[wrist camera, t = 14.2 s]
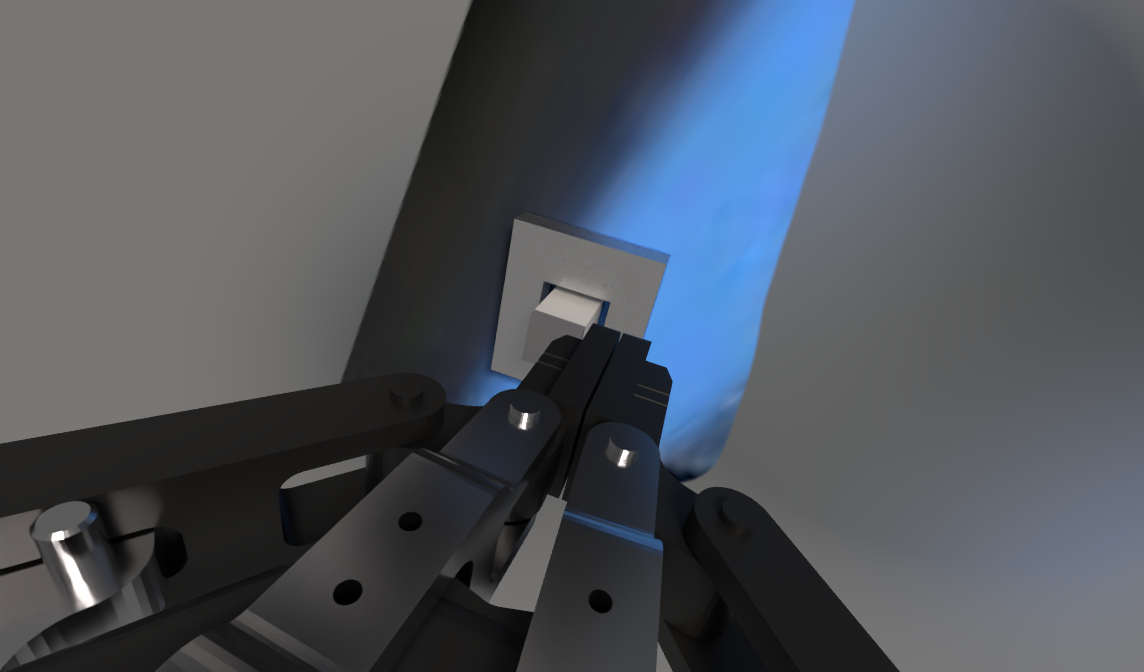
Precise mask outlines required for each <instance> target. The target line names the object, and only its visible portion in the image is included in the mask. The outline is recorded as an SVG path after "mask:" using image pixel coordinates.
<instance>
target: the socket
mask: <svg viewBox="0 0 1144 672" xmlns="http://www.w3.org/2000/svg"><path fill="white" fill-rule="evenodd" d="M669 257H670V255H669V254H665V253H662V252H659V251H655V250H652V249H648V248H645V247H642V246H638V245H635V244H632V243H628V242H625V241H622V240H618V239H615V238H611V237H608V236H605V235H601V234H598V233H595V232H591V231H588V230H585V229H581V228H578V227H574V226H571V225H568V224H564V223H561V222H558V221H554V220H551V219H548V218H544V217H541V216H538V215H534V214H531V213H527V212H526V213H524V214H522V215H520V216H518V217H517V218H515V219H514V225H513V232H512V238H511V244H510V251H509V257H508V264H507V270H506V276H505V283H504V289H503V296H502V302H501V308H500V315H499V321H498V328H497V334H496V340H495V347H494V353H493V360H492V366H491V370H494V371H497V372H500V373H503V374H505V375H508V376H511V377H514V378H517V379H519V380H522V381H523V379H524V378H525V377H526V375H527V374H528V373H529V371H530V370H531V369H532V367H533V366H534V365H535V364H533V363H530V362H527V361H524V360H522V356H523V351H524V346H525V340H526V335H527V330H528V325H529V320H530V315H531V313H532V312H533V311H534V310H535V309H536V308H537V307H538V305H539V304H540V303H541V302H542V301H543V300H544V299H545V298H546V297H547V296H548V295H549V291H550V286H551V284H555V285H558V286H561V287H564V288H567V289H570V290H573V291H577V292H580V293H583V294H586V295H589V296H592V297H595V298H598V299H602V300H605V301H608V302H610V306H609V310H608V313H607V317H606V321H605V324H604V326H605V327H608V328H611V329H614V330H617V331H620V332H621V336H620V339H621V337H622V334H623V333H626V334H629V335H632V336H635V337H639V338H642V339H643V338H644V334H645V331H646V328H647V325H648V322H649V319H650V316H651V313H652V310H653V307H654V304H655V300H656V297H657V294H658V291H659V288H660V285H661V282H662V279H663V276H664V273H665V270H666V266H667V263H668V260H669ZM619 341H620V340H619Z"/></svg>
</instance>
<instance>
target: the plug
mask: <svg viewBox="0 0 1144 672" xmlns="http://www.w3.org/2000/svg"><path fill="white" fill-rule="evenodd" d="M603 302H604V300H602V299H598V298H595V297H592V296H589V295H586V294H583V293H580V292H577V291H573V290H570V289H567V288H564V287H561V286H558V285H557V286H556V287H555V288H554V290H553V291H552V292H551V293H550V294H549V295H548V296H547V297H546V298H545V299H544V300H543V301H542V302H541V303H540V304H539V305H538V307H537V308H536V309H535V310H534V311H533V312H532V313H531V315H530V320H529V325H528V330H527V335H526V340H525V346H524V351H523V356H522V360H524V361H527V362H530V363H533V364H535V363H536V362H538V359H539V358H540V357H541V355H542V354H543V353H544V351H545V350H546V348H547V347H548V346H549V344H550V343H551V342H552V341H553V340H555V339H558V338H560V337H562V336H564V335H570V336H573V337H576V338H579V339H582V340H583V338H584V336H585V335H586V333H587V332H588V330H589V328H590V327H591V325H592V324H593V323H596V324H598V321H599V317H600V313H601V310H602V306H603Z"/></svg>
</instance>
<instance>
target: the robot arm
mask: <svg viewBox="0 0 1144 672" xmlns="http://www.w3.org/2000/svg"><path fill="white" fill-rule="evenodd" d="M620 336H621V332H620V331H617V330H614V329H611V328H608V327H605V326H602V325H599V324H596V323H593V324H592V325H591V327H590V328H589V330H588V332H587V333H586V335H585V336H584V338H583V340H582V339H579V338H576V337H573V336H570V335H564V336H562V337H560V338H558V339H555V340H553V341H552V342H551V343H550V344H549V346H548V347H547V348H546V350H545V351H544V353H543V354H542V355H541V357H540V358H539V359H538V362H536V363H535V365H534V366H533V367H532V369H531V370H530V371H529V373H528V374H527V375H526V377H525V378H524V379H523V381H522V382H521V383H520V385H519V386H518V387H517V389H510V390H505V391H502V392H500V393H498V394H496V395H495V396H494V397H492V398H491V399H490V401H489V402H488V403H487V404H486V405H485V406H466V405H458V404H450V403H445V400H446V394H445V390H444V388H443V387H442V386H441V385H440V384H439V383H438V382H437V381H435V380H434V379H432V378H430V377H427V376H424V375H420V374H415V373H397V374H391V375H385V376H379V377H374V378H368V379H362V380H357V381H351V382H346V383H340V384H334V385H329V386H323V387H318V388H312V389H306V390H301V391H296V392H289V393H284V394H279V395H273V396H267V397H261V398H256V399H251V400H244V401H239V402H233V403H227V404H222V405H216V406H210V407H205V408H199V409H194V410H188V411H182V412H177V413H171V414H165V415H160V416H154V417H149V418H143V419H138V420H132V421H127V422H121V423H115V424H109V425H103V426H99V427H93V428H87V429H81V430H75V431H70V432H64V433H58V434H53V435H47V436H42V437H36V438H31V439H25V440H19V441H13V442H8V443H2V444H0V672H656V664H657V647H658V642H659V644H660V646H661V649H662V651H663V653H664V655H665V657H666V659H667V661H668V663H669V665H670V667H671V669H672V671H673V672H900V671H899V670H898V669H897V668H896V667H895V665H894V664H893V663H892V662H891V661H890V659H889V658H888V657H887V656H886V654H885V653H884V652H883V651H882V650H881V648H880V647H879V646H878V645H877V644H876V643H875V641H874V640H873V639H872V638H871V636H870V635H869V634H868V633H867V632H866V631H865V629H864V628H863V627H862V626H861V624H860V623H859V622H858V621H857V620H856V618H855V617H854V616H853V615H852V614H851V612H850V611H849V610H848V609H847V608H846V606H845V605H844V604H843V603H842V602H841V600H840V599H839V598H838V597H837V596H836V594H835V593H834V592H833V591H832V589H831V588H830V587H829V586H828V585H827V583H826V582H825V581H824V580H823V579H822V577H821V576H820V575H819V574H818V573H817V571H816V570H815V569H814V568H813V567H812V565H811V564H810V563H809V562H808V561H807V559H806V558H805V557H804V556H803V555H802V553H801V552H800V551H799V550H798V549H797V547H796V546H795V545H794V544H793V543H792V541H791V540H790V539H789V538H788V537H787V535H786V534H785V533H784V532H783V531H782V529H781V528H780V527H779V526H778V525H777V523H776V522H775V521H774V520H773V519H772V518H771V516H770V515H769V514H768V513H767V511H766V510H765V509H764V508H763V507H762V506H760V505H759V504H758V503H757V502H756V501H754V500H753V499H752V498H750V497H748V496H746V495H745V494H743V493H740V492H738V491H736V490H733V489H729V488H724V487H711V488H707V489H705V490H703V491H701V492H700V493H699V494H697V493H695V492H693V491H692V490H690V489H689V488H687V487H686V486H684V485H683V484H681V483H680V482H679V481H677V480H676V479H675V478H674V477H673V476H672V475H671V474H670V473H669V472H668V471H667V470H666V468H665V467H664V465H663V463H662V461H661V459H660V451H659V444H660V439H661V434H662V429H663V425H664V420H665V415H666V411H667V405H668V401H669V395H670V392H671V387H672V382H673V381H672V379H671V377H670V374H669V372H668V370H667V368H666V367H663V366H660V365H657V364H654V363H651V362H648V361H645V360H646V357H647V354H648V351H649V348H650V345H651V341H648V340H645V339H642V338H639V337H635V336H632V335H629V334H626V333H623V334H622V337H621V339H620ZM619 340H620V341H619ZM364 455H366V467H365V468H361V469H358V470H354V471H351V472H347V473H344V474H340V475H336V476H333V477H329V478H325V479H322V480H318V481H315V482H311V483H307V484H304V485H300V486H297V487H293V488H287V489H281V486H282V484H283V483H284V482H285V481H286V480H287V479H289V478H290V477H292V476H293V475H295V474H298V473H300V472H303V471H307V470H311V469H315V468H318V467H322V466H326V465H330V464H334V463H337V462H341V461H345V460H348V459H353V458H356V457H360V456H364ZM567 478H568V479H567ZM566 480H567V483H566ZM565 483H566V486H565V490H564V494H563V497H562V500H565V501H567V504H566V508H565V510H564V514H563V517H562V520H561V524H560V527H559V530H558V534H557V537H556V540H555V544H554V547H553V550H552V554H551V557H550V561H549V564H548V567H547V571H546V574H545V577H544V581H543V584H542V587H541V591H540V594H539V597H538V600H537V604H536V607H535V611H534V612H529V611H523V610H516V609H510V608H503V607H498V606H494V605H491V604H489V601H490V599H491V597H492V595H493V594H494V592H495V590H496V588H497V587H498V585H499V583H500V581H501V580H502V578H503V576H504V574H505V573H506V571H507V569H508V568H509V566H510V564H511V563H512V561H513V559H514V557H515V556H516V554H517V552H518V550H519V549H520V547H521V545H522V544H523V542H524V540H525V539H526V537H527V535H528V533H529V532H530V530H531V528H532V526H533V524H534V522H535V519H536V515H537V512H538V511H539V510H540V508H541V507H542V505H543V503H544V500H545V498H546V496H547V494H549V495H551V496H554V497H556V498H559V496H560V494H561V492H562V489H563V487H564V485H565Z"/></svg>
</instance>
